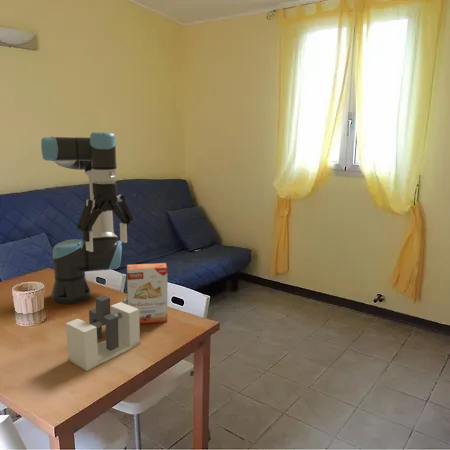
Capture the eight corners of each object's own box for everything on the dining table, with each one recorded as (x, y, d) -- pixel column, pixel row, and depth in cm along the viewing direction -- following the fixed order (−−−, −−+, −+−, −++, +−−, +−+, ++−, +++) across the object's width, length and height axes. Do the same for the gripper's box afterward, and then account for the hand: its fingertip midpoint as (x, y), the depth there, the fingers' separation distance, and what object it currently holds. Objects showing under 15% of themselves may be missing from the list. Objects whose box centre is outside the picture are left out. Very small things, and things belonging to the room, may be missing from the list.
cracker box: (128, 325, 146) (126, 269, 141) (128, 318, 152) (126, 263, 147) (168, 322, 149) (167, 267, 145) (166, 315, 155) (166, 261, 150)
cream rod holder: (68, 360, 123) (65, 323, 121) (121, 335, 139) (120, 302, 136) (86, 370, 118) (84, 332, 115) (140, 343, 134) (139, 309, 131)
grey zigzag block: (90, 339, 129) (88, 295, 126) (98, 336, 132) (96, 292, 128) (110, 350, 124) (109, 304, 120) (118, 346, 126) (117, 301, 123)
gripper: (76, 187, 119) (81, 257, 124) (142, 179, 139) (143, 240, 144) (62, 184, 124) (66, 252, 129) (127, 177, 143) (129, 236, 148)
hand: (107, 246), depth 136 cm, fingers open, 13 cm apart
